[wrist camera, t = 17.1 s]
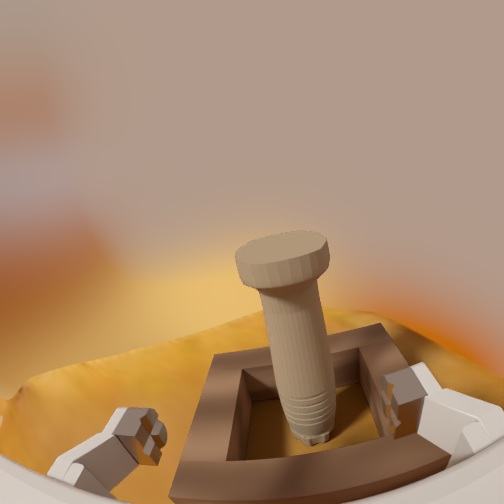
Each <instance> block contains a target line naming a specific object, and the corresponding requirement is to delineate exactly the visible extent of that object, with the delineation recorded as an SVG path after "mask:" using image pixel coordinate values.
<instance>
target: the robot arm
mask: <svg viewBox="0 0 504 504" xmlns="http://www.w3.org/2000/svg"><path fill="white" fill-rule="evenodd" d="M381 385H382V387H383V389H384V390H383V391H382V393H381V404H382V409H383V413H384V415H385V418H387V419H389V428H390V430H391V433H392V435H393V438H394V440H396V439H399V438H402V437H405V436H408V435H411V434H414V433H417V432H418V433H417V434H419V435H421V436H422V437H424V438H425V439H427V440H428V441H430V442H432V443H433V444H435V445H436V446H438V447H440V448H441V449H443V450H445V451H446V452H448V453H449V454H451V455H452V456H451V458H450V460H449V463H448V465H447V467H446V469H445V470H444V471H441V472H439V473H437V474H434V475H432V476H430V477H427V478H425V479H422V480H420V481H417V482H415V483H412V484H409V485H406V486H403V487H401V488H398V489H395V490H391V491H388V492H385V493H382V494H378V495H375V496H371V497H368V498H364V499H360V500H356V501H351V502H347V503H342V504H504V411H503V410H502V409H501V407H500V406H497V405H494V404H491V403H488V402H485V401H482V400H479V399H476V398H473V397H470V396H467V395H465V394H462V393H459V392H456V391H453V390H451V389H448V388H445V389H442V387H441V386H440V385H439V383H438V382H437V380H436V379H435V377H434V376H433V375H432V373H431V372H430V370H429V369H428V368H427V366H426V365H425V364H424V363H423V362H421V363H418V364H415V365H412V366H410V367H407V368H404V369H401V370H398V371H395V372H392V373H389V374H386V375H382V379H381ZM157 418H158V414H157V413H156V411H155V409H152V408H135V407H119V408H117V409H116V411H115V412H114V414H113V415H112V417H111V419H110V420H109V422H108V424H107V425H106V427H105V428H104V430H103V432H102V433H98V434H96V435H94V436H93V437H91V438H89V439H88V440H86V441H84V442H83V443H81V444H79V445H78V446H76V447H74V448H72V449H71V450H69V451H67V452H66V453H64V454H62V455H60V456H59V457H58V458H57V459H56V461H55V462H54V464H53V465H52V467H51V468H50V470H49V471H48V473H47V475H46V476H45V475H42V474H40V473H38V472H36V471H33V470H31V469H29V468H27V467H25V466H23V465H21V464H19V463H17V462H15V461H13V460H11V459H9V458H7V457H6V456H4V455H2V454H0V504H133V503H129V502H124V501H120V500H117V498H116V497H115V496H114V495H113V494H111V493H110V491H111V490H112V489H113V488H114V487H115V486H116V485H118V484H119V483H120V482H121V481H122V480H123V479H124V478H125V477H127V476H128V475H129V474H130V473H131V472H132V471H133V470H134V469H135V468H137V467H138V466H139V465H138V464H140V465H151V466H158V463H159V460H160V458H161V455H162V452H161V450H160V449H161V448H162V447H164V446H165V444H166V442H167V430H166V427H165V426H164V424H163V423H162V422H161V421H159V420H158V419H157Z"/></svg>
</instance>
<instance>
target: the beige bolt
mask: <svg viewBox="0 0 504 504" xmlns="http://www.w3.org/2000/svg"><path fill="white" fill-rule="evenodd" d="M235 259H236V264H237V269H238V273H239V276H240V279H241V281H242V282H243V284H244V285H246V286H249V287H252V288H256V289H257V290H258V291H259V294H260V298H261V302H262V306H263V312H264V317H265V323H266V328H267V334H268V339H269V345H270V351H271V357H272V363H273V369H274V375H275V381H276V386H277V390H278V393H279V397H280V401H281V404H282V407H283V410H284V413H285V416H286V418H287V421H288V423H289V425H290V429H291V432H292V434H293V436H294V437H295V438H296V439H300V440H302V441H303V442H304V445H306V446H312V445H313V444H316V443H324V442H326V441H328V440H329V434H330V432H331V431H332V430H333V429H334V426H335V412H336V386H335V374H334V368H333V363H332V357H331V352H330V347H329V342H328V337H327V332H326V327H325V322H324V317H323V312H322V307H321V302H320V297H319V291H318V285H317V279H318V278H319V277H320V276H321V275H322V274H323V273H324V272H325V271H326V270H327V268H328V266H329V261H330V254H329V248H328V243H327V239H326V237H325V236H324V235H322V234H320V233H318V232H312V231H292V232H285V233H280V234H276V235H271V236H267V237H263V238H260V239H257V240H253V241H251V242H248V243H247V244H245V245H244V246H242V247H240V248H239V249H238V250H237V251H236V253H235Z"/></svg>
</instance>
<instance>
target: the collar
mask: <svg viewBox="0 0 504 504" xmlns="http://www.w3.org/2000/svg"><path fill="white" fill-rule="evenodd" d="M327 337H328V342H329V347H330V352H331V357H332V363H333V368H334V374H335V386H336V388H337V387H341V386H345V385H350V384H354V383H358V382H360V383H361V385H362V388H363V391H364V393H365V396H366V399H367V402H368V404H369V407H370V410H371V413H372V415H373V418H374V421H375V424H376V427H377V429H378V432H379V435H380V438H377V439H374V440H370V441H367V442H363V443H359V444H355V445H350V446H346V447H342V448H337V449H332V450H327V451H322V452H316V453H310V454H304V455H297V456H289V457H281V458H272V459H261V460H246V454H247V445H248V436H249V427H250V418H251V408H252V401H261V400H269V399H276V398H280V397H279V393H278V390H277V386H276V381H275V375H274V369H273V363H272V357H271V351H270V347H263V348H257V349H251V350H244V351H237V352H229V353H222V354H214V358H213V361H212V364H211V367H210V370H209V373H208V376H207V379H206V382H205V385H204V388H203V391H202V394H201V397H200V400H199V403H198V406H197V409H196V412H195V416H194V419H193V422H192V425H191V428H190V431H189V434H188V437H187V440H186V443H185V446H184V449H183V452H182V456H181V459H180V462H179V465H178V468H177V471H176V474H175V477H174V480H173V483H172V486H171V490H170V493H169V496H168V497H169V498H170V499H171V500H172V501H173V502H174V503H175V504H342V503H347V502H351V501H356V500H360V499H364V498H368V497H371V496H375V495H378V494H382V493H385V492H388V491H391V490H395V489H398V488H401V487H403V486H406V485H409V484H412V483H415V482H417V481H420V480H422V479H425V478H427V477H430V476H432V475H434V474H437V473H439V472H441V471H444V470H445V469H446V467H447V465H448V463H449V460H450V458H451V456H452V455H451V454H449V453H448V452H446V451H445V450H443V449H441V448H440V447H438V446H436V445H435V444H433V443H432V442H430V441H428V440H427V439H425V438H424V437H422V436H421V435H419V434H417V433H418V432H417V433H414V434H411V435H408V436H405V437H402V438H399V439H396V440H394V438H393V435H392V433H391V430H390V428H389V419H387V418H385V415H384V413H383V409H382V404H381V393H382V391H383V390H384V389H383V387H382V385H381V379H382V375H386V374H389V373H392V372H395V371H398V370H401V369H404V368H407V367H410V366H409V365H408V363H407V361H406V360H405V358H404V357H403V355H402V354H401V352H400V351H399V349H398V348H397V346H396V345H395V343H394V342H393V340H392V339H391V337H390V336H389V334H388V333H387V331H386V330H385V328H384V327H383V326H382V324H381V323H378V324H374V325H370V326H366V327H362V328H358V329H354V330H350V331H345V332H341V333H336V334H332V335H327Z"/></svg>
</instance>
